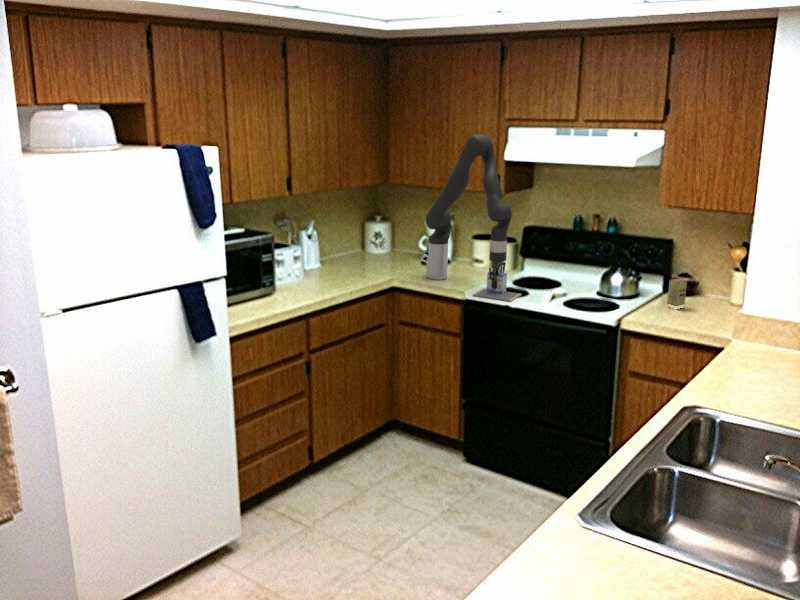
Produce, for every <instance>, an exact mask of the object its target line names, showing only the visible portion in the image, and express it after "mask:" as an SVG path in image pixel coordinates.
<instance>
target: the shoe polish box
mask: <svg viewBox="0 0 800 600" xmlns="http://www.w3.org/2000/svg"><path fill="white" fill-rule="evenodd" d="M687 285H688V280H686V279H680V278H674V279H673V278H672V279H669V283H668V290H667V291H668V292H667V293H668V294H667V301H666V305H667V304H671V305H674V306H679V305H683V304H684V305H685V304H686V303H685V302H686V293H687Z"/></svg>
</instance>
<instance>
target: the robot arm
mask: <svg viewBox="0 0 800 600" xmlns="http://www.w3.org/2000/svg"><path fill="white" fill-rule="evenodd" d="M477 157H481V159H482V162H483V169H484V170H483V178H482V179H483V180H482V183H483V190H484V193H485V195H486V199H487V200H486V202H487V203H486V204H487V205H486V206H487V215H488V218H489V220H491V221H492V222H495V223H497V224H496V225H494V226H493V227H492V228H491V230H490V242H489V261H490V262H492V265H491V267H488V272H489V276H490V280H492V288H493V289H496V288H497V278H498V276H499V273H505V271H506V263H507V262H506V261H507V252H508V230H509V226H510V223H511V222H512V221H511V220H512V217H513V216H512V215H513V212H512V208H511V207H510V206H509V204H505V203H504V204H499V201H500V200H502V199H503V198H504V197H503V196H504V194H503V193H504V192H503V190H502V187H501V184H500V180H499V176H498V171H497V163H496V157H495V149H494V143H493V140H492V138H491V137H490V136H489V135H486V134H472V135H470V136H469V137H468V138H467V139H466V141H465V143H464V145H463V148H462V150H461V153H460V155H459V157H458V160H457V161H456V164H455V165H454V167H453V170H452V171H451V173H450V175H449V177H448V179H447V180H446V181H445V183H444V186H443V188H442V190H441V191H440V193H439V195H438V197H437V199H436V201H435V202H434V203H433V205H432V206H431V207H430V209H429V210H428V212H427V213H426V216H425V224H426V226H427V228H428V229H430V230H434V231H433V232H432V234H431V235H430V236H428V256H427V258H426V274H425V275H426V278H428V279H431V280H437V281H440V280H446V279H447V278H448V264H449V263H448V260H449V259H448V257H449V240H450V236H451V227H452V217H451V216H452V215H451V213H450V211H449V208H450V207H452V205H453V204H455V202H457V200H459V199H460V198H461V197H462V196H463V194H464V193H465V191H466V189H467V187H468V185H469V184H470V179H471V175H470V173H471V172H470V171H471V166H472V165H473V163H474V161H475V160H476V158H477ZM495 273H497V274H495Z"/></svg>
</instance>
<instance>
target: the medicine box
mask: <svg viewBox="0 0 800 600" xmlns="http://www.w3.org/2000/svg"><path fill="white" fill-rule="evenodd" d="M495 274H497V273H495ZM507 278H508V274H507V273H506V272H504V273H499V276H498V278H497V288H496V289H493V288H492V280H490V276H489V271H488V272H487V277H486V289H487V292H494V293H502V294H503V293H504V292H507V282H508V281H507V280H508V279H507Z"/></svg>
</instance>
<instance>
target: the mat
mask: <svg viewBox="0 0 800 600" xmlns="http://www.w3.org/2000/svg"><path fill="white" fill-rule="evenodd" d="M521 296H522V293H518V292H511V291H506V292H504V293H503V294H502V293H494V292H487V287H485V288H481V289H480V290H478V291H477V292H474V293H472V297H474V298H483V299H489V300H493V301H494V300H496V301H501V302H508V303H512V302H513V301H515V300H516V299H518V298H520V297H521Z"/></svg>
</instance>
